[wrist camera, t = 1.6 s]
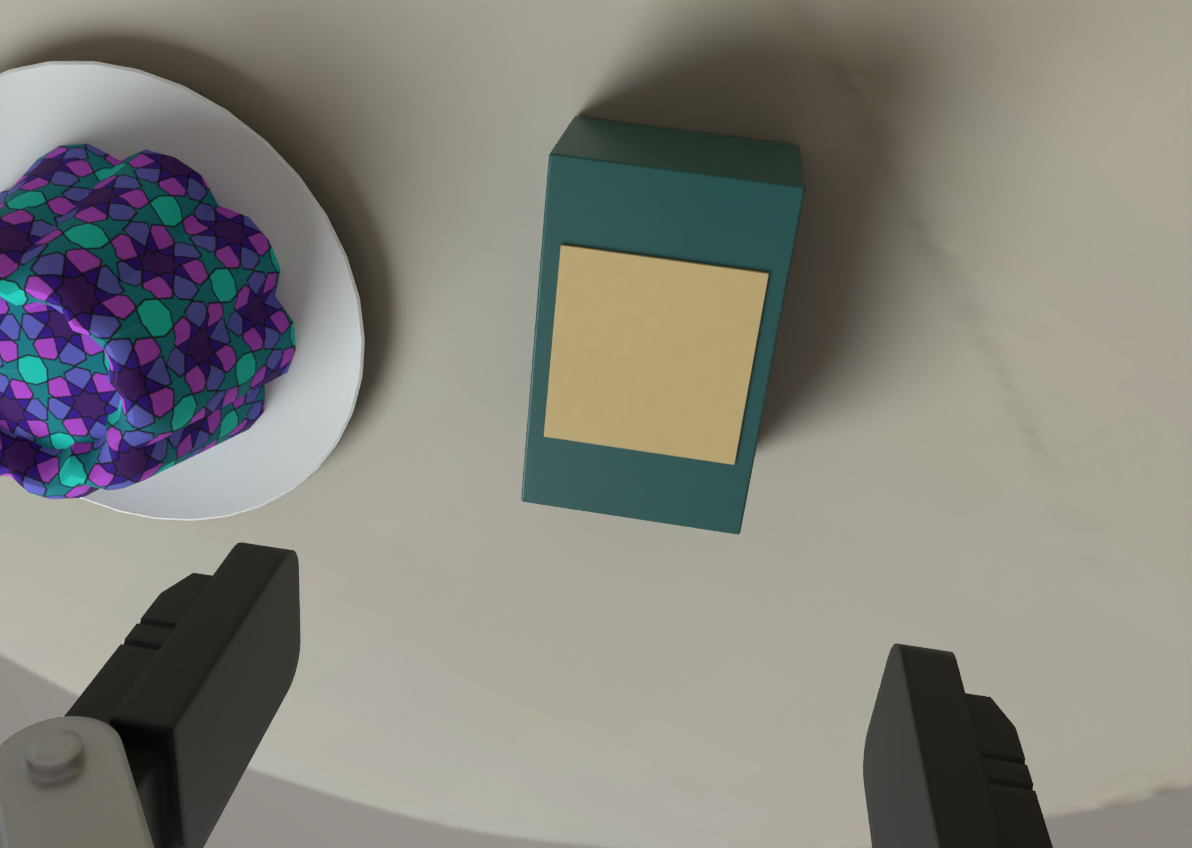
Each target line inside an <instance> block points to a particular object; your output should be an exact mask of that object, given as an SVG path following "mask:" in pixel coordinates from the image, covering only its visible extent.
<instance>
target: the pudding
mask: <svg viewBox="0 0 1192 848" xmlns="http://www.w3.org/2000/svg"><path fill="white" fill-rule="evenodd" d="M364 344H365V336H364V328H363V320H362V312H361V304H360V297H359V294H358V291H357V287H356V284H355V281H354V277H353V274H352V271H351V267H350V264H349V261H348V258H347V255H346V253H345V251H344V249H343V247H342V245H341V243H340V241H339V239H338V237H337V235H336V233H335V231H334V229H333V226H332V224H331V222H330V220H329V218H328V216H327V215H326V213H325V212H324V210H323V209H322V207H321V206H320V205H319V203H318V202H317V200H316V199H315V197H314V196H313V194H312V193H311V192H310V190H309V189H308V187H307V186H306V184H305V183H304V182H303V180H302V179H301V177H300V176H299V175H298V174H297V173H296V172H295V171H294V170H293V169H292V167H291V166H290V165H289V164H288V163H287V162H286V161H285V160H284V159H283V158H282V157H281V156H280V155H279V154H278V153H277V152H276V151H275V150H274V148H273V147H272V146H271V145H270V144H269V143H268V142H267V141H266V140H265V139H263V138H262V137H261V136H260V135H258V134H257V133H256V132H254V131H253V130H252V129H251V128H249V127H248V126H247V125H245V124H244V123H243V122H242V121H240V120H239V119H238V118H237V117H235V116H234V115H233V114H231V113H230V112H229V111H228V110H226V109H224V108H222V107H221V106H219V105H217V104H215V103H214V102H212V101H210V100H208V99H206V98H205V97H203V96H201V95H199V94H198V93H196V92H194V91H192V90H190V89H189V88H187V87H185V86H183V85H180V84H177V83H175V82H172V81H169V80H167V79H164V78H161V77H158V76H156V75H153V74H150V73H148V72H145V71H142V70H139V69H134V68H129V67H123V66H118V65H112V64H107V63H102V62H96V61H48V62H43V63H39V64H34V65H29V66H24V67H19V68H15V69H10V70H7V71H5V72H3V73H1V74H0V476H11V477H12V478H13V479H14V480H15V481H17V482H18V483H19V484H20V485H21V486H22V487H23V488H24V489H26V490H27V491H28V492H29V493H32V494H35V495H39V496H42V497H46V498H49V499H65V498H82V499H84V500H87V501H90V502H93V503H96V504H99V505H101V506H104V507H107V508H110V509H113V510H116V511H119V512H124V513H129V514H134V515H138V516H143V517H148V518H153V519H167V520H187V521H194V520H203V519H212V518H221V517H228V516H232V515H235V514H238V513H242V512H245V511H249V510H252V509H255V508H259V507H261V506H263V505H265V504H267V503H269V502H271V501H273V500H275V499H277V498H279V497H281V496H282V495H284V494H286V493H288V492H290V491H291V490H293V489H294V488H295V487H296V486H298V485H299V484H300V483H301V482H303V481H304V480H305V479H306V478H307V477H309V476H310V475H311V474H312V473H314V472H315V471H316V470H317V469H318V468H319V466H320V465H321V464H322V463H323V461H324V460H325V459H326V458H327V456H328V455H329V454H330V453H331V451H332V450H333V449H334V448H335V446H336V445H337V444H338V442H339V440H340V438H341V436H342V434H343V432H344V430H345V428H346V426H347V424H348V422H349V420H350V418H351V416H352V414H353V411H354V408H355V404H356V400H357V396H358V392H359V389H360V385H361V381H362V377H363V360H364Z"/></svg>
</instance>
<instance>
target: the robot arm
mask: <svg viewBox="0 0 1192 848" xmlns="http://www.w3.org/2000/svg"><path fill="white" fill-rule="evenodd" d="M299 652H300V602H299V565H298V557H297V554H296V552H295V551H294V550H288V549H281V548H274V547H268V546H261V545H255V544H248V543H241V542H240V543H238V544H237V545H235V546H234V548H233V549H232V550H231V552H230V553H229V554H228V556H227V557H226V558H225V560H224V561H223V563H222V564H221V565H220V567H219V568H218V569H217V571H216V572H215V574H214V575H213V576H210V575H204V574H197V573H193V574H191V575H189V576H188V577H186V578H184V579H183V580H181V581H180V582H178V583H176V584H175V585H173V586H172V587H170V588H168V589H167V590H165V591H163V592H162V593H161V594H160V595H159V596H158V597H157V599H156V600H155V601H154V603H153V604H152V605H151V606H150V608H149V609H148V610H147V611H146V613H145V614H144V615H143V617H142V618H141V622H140V624H136V626H135V627H134V628H133V629H132V631H131V632H130V633H129V634H128V636H127V637H126V638H125V642H124V645H120V646H119V647H118V649H117V650H116V651H115V652H114V654H113V655H112V656H111V657H110V659H109V660H108V661H107V663H106V664H105V665H104V666H103V668H102V669H101V670H100V672H99V673H98V674H97V675H96V677H95V678H94V679H93V680H92V682H91V683H90V684H89V686H88V687H87V688H86V689H85V691H84V692H83V693H82V695H81V696H80V697H79V698H78V700H77V701H76V702H75V704H74V705H73V706H72V707H71V709H70V710H69V711H68V712H67V714H66V715H65V716H64V717H58V718H53V719H48V720H45V721H41V722H38V723H35V724H33V725H31V726H28V727H26V728H24V729H22V730H20V731H19V732H17V733H15V734H14V735H12V736H11V737H10V738H8V739H7V740H6V741H5V742H4V743H2V744H1V745H0V848H203V847H204V845H205V843H206V842H207V839H208V838H209V836H210V834H211V832H212V831H213V829H214V827H215V825H216V823H217V821H218V819H219V818H220V816H221V814H222V812H223V810H224V808H225V806H226V805H227V803H228V801H229V799H230V797H231V795H232V794H233V792H234V790H235V788H236V786H237V784H238V782H239V781H240V779H241V777H242V775H243V773H244V771H245V769H246V768H247V766H248V764H249V762H250V760H251V758H252V757H253V755H254V753H255V751H256V749H257V747H258V745H259V744H260V742H261V740H262V738H263V736H264V734H265V732H266V731H267V729H268V727H269V725H270V723H271V721H272V720H273V718H274V716H275V714H276V712H277V710H278V708H279V707H280V705H281V703H282V701H283V699H284V697H285V695H286V694H287V692H288V690H289V688H290V686H291V683H292V681H293V678H294V675H295V672H296V668H297V664H298V659H299ZM863 778H864V787H865V795H866V802H867V810H868V818H869V826H870V833H871V841H872V848H1053V847H1052V844H1051V840H1050V838H1049V834H1048V831H1047V828H1046V824H1045V821H1044V818H1043V815H1042V811H1041V808H1040V805H1039V802H1038V799H1037V795H1036V792H1035V791H1033V782H1032V779H1031V776H1030V773H1029V770H1028V766H1027V765H1025V757H1024V753H1023V750H1022V747H1021V744H1020V741H1019V737H1018V734H1017V731H1016V728H1015V726H1014V725H1013V724H1012V723H1011V721H1010V720H1009V719H1008V718H1007V717H1006V715H1005V714H1004V713H1003V712H1002V711H1001V709H1000V708H999V707H998V706H997V704H996V703H995V702H994V701H993V700H992V698H991V697H986V696H979V695H973V694H966V693H965V691H964V687H963V683H962V679H961V676H960V672H959V668H958V664H957V661H956V658H955V655H954V654H953V653H952V652H949V651H942V650H936V649H929V648H922V647H916V646H909V645H903V644H894V645H893V647H892V648H891V650H890V653H889V656H888V659H887V663H886V667H885V670H884V674H883V677H882V681H881V685H880V688H879V692H878V695H877V699H876V703H875V706H874V710H873V713H872V717H871V721H870V724H869V728H868V732H867V736H866V742H865V749H864V761H863Z"/></svg>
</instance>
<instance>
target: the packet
mask: <svg viewBox="0 0 1192 848" xmlns="http://www.w3.org/2000/svg"><path fill="white" fill-rule="evenodd" d="M804 192H805V185H804V178H803V171H802V164H801V157H800V149H799V146H798V145H795V144H787V143H780V142H772V141H764V140H757V139H749V138H741V137H734V136H726V135H718V134H710V133H703V132H695V131H687V130H680V129H672V128H664V127H656V126H649V125H641V124H633V123H626V122H618V121H610V120H602V119H595V118H587V117H579V116H575V117H574V118H573V120H572V121H571V123H570V124H569V126H568V127H567V129H566V130H565V132H564V133H563V135H562V136H561V138H560V139H559V141H558V142H557V144H556V145H555V147H554V148H553V150H552V151H551V153H550V155H549V164H548V176H547V188H546V201H545V213H544V225H543V238H542V250H541V262H540V275H539V287H538V299H537V312H536V324H535V336H534V349H533V361H532V373H531V386H530V398H529V410H528V423H527V435H526V447H525V460H524V472H523V484H522V497H521V500H522V501H523V502H529V503H536V504H542V505H549V506H555V507H562V508H568V509H575V510H582V511H588V512H595V513H601V514H608V515H614V516H621V517H627V518H634V519H641V520H647V521H654V522H660V523H667V524H673V525H680V526H686V527H693V528H699V529H706V530H713V531H719V532H726V533H732V534H739V533H740V531H741V526H742V520H743V515H744V510H745V505H746V499H747V494H748V489H749V483H750V478H751V473H752V467H753V462H754V457H755V452H756V446H757V441H758V436H759V430H760V425H761V420H762V414H763V409H764V404H765V399H766V393H767V388H768V383H769V377H770V372H771V367H772V362H773V356H774V351H775V346H776V340H777V335H778V330H779V324H780V319H781V314H782V309H783V303H784V298H785V293H786V287H787V282H788V277H789V271H790V266H791V261H792V256H793V250H794V245H795V240H796V234H797V229H798V224H799V218H800V213H801V208H802V203H803V197H804Z"/></svg>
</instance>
